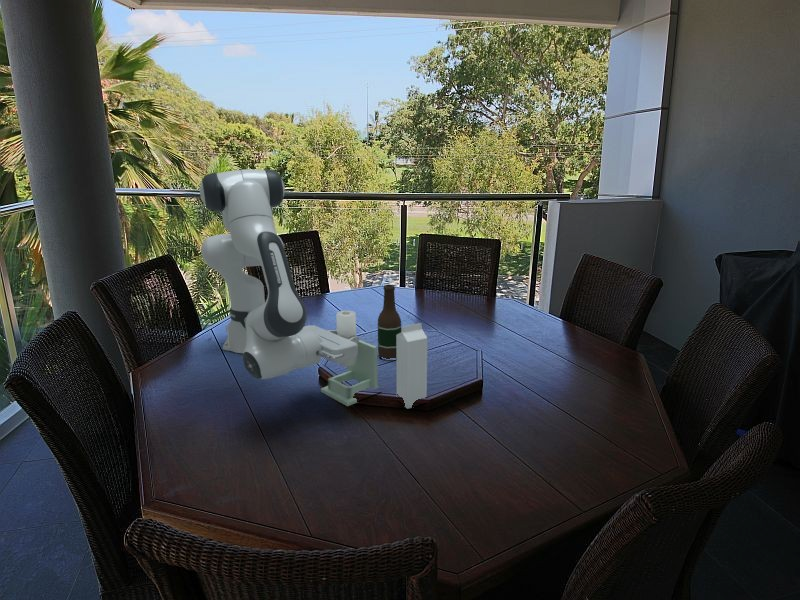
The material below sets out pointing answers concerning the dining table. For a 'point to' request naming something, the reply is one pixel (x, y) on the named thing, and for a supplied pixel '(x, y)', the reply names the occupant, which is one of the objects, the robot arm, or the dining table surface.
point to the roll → (346, 330)
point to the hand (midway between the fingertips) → (349, 335)
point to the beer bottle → (388, 325)
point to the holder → (355, 376)
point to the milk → (411, 364)
